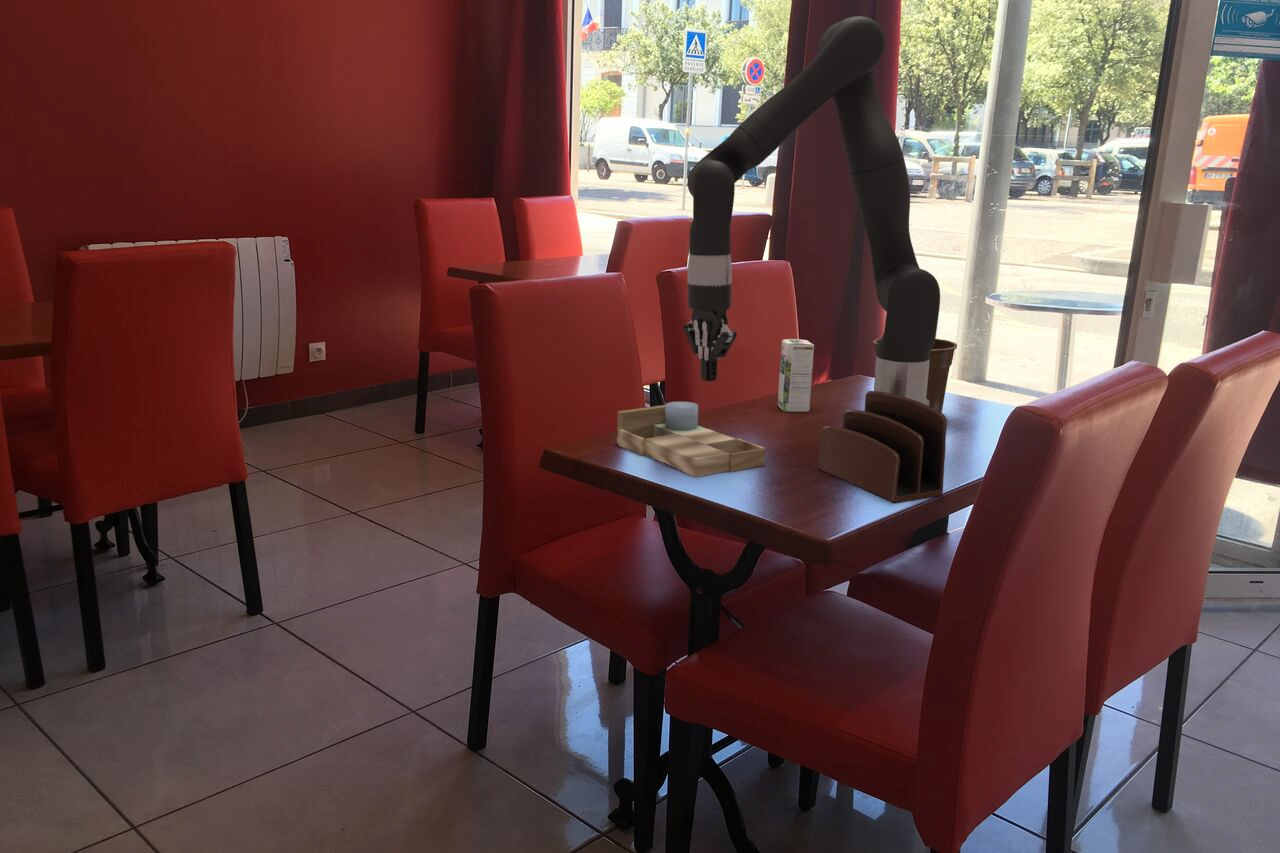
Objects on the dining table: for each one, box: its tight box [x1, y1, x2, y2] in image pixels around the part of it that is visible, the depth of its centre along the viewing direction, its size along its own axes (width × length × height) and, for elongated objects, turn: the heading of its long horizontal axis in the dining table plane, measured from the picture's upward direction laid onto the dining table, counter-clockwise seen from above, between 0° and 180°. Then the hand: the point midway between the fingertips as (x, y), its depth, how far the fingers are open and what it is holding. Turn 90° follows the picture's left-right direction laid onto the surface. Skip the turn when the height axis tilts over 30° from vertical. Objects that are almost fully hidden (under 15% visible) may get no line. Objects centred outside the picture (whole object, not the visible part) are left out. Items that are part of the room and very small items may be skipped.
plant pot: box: [872, 337, 958, 413], centre depth 209 cm, size 16×16×16 cm
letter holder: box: [818, 390, 948, 504], centre depth 168 cm, size 10×20×14 cm, turn 26°
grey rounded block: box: [665, 401, 699, 430], centre depth 190 cm, size 6×6×4 cm
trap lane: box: [616, 404, 766, 478], centre depth 183 cm, size 25×15×6 cm, turn 34°
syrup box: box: [777, 338, 815, 413], centre depth 217 cm, size 6×6×14 cm
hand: (708, 380), depth 181 cm, fingers closed
